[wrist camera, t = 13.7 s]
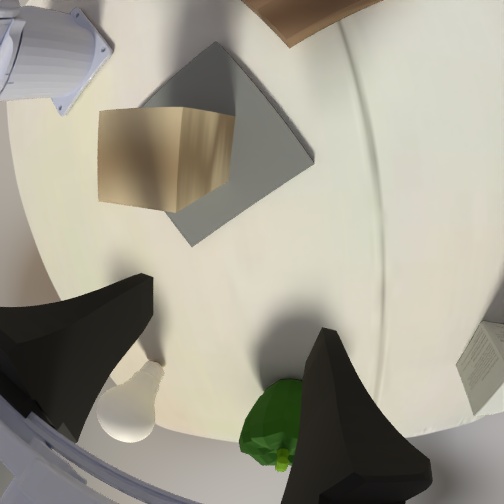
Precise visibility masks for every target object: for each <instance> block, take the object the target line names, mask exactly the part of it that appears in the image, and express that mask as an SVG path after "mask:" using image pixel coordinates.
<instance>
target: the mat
mask: <svg viewBox="0 0 504 504" xmlns="http://www.w3.org/2000/svg"><path fill="white" fill-rule="evenodd" d="M148 107H187V108H193V109H199V110H205V111H211V112H216V113H221V114H226V115H231V116H235V125H234V134H233V143H232V152H231V162H230V172H229V181H228V182H226V183H225V184H223V185H221V186H219V187H218V188H216V189H214V190H213V191H211V192H209V193H208V194H206V195H204V196H203V197H201V198H199V199H198V200H196V201H194V202H193V203H191V204H190V205H188V206H186V207H185V208H183V209H182V210H180V211H178V212H177V213H173V212H167V211H165V213H166V214H167V215H168V217H169V218H170V219H171V221H172V222H173V223H174V225H175V226H176V227H177V229H178V230H179V231H180V233H181V234H182V235H183V237H184V238H185V239H186V240H187V242H188V243H189V244H190V246H191V247H193V246H194V245H196V244H197V243H199V242H200V241H201V240H203V239H204V238H206V237H207V236H208V235H210V234H211V233H213V232H214V231H215V230H217V229H218V228H220V227H221V226H223V225H224V224H225V223H227V222H228V221H230V220H231V219H233V218H234V217H236V216H237V215H238V214H240V213H241V212H243V211H244V210H246V209H247V208H249V207H250V206H252V205H253V204H254V203H256V202H257V201H259V200H260V199H262V198H263V197H265V196H266V195H268V194H269V193H271V192H272V191H274V190H275V189H277V188H278V187H280V186H281V185H283V184H284V183H286V182H287V181H289V180H290V179H292V178H293V177H295V176H296V175H298V174H300V173H301V172H303V171H304V170H306V169H307V168H309V167H310V166H312V165H313V164H314V162H313V160H312V159H311V157H310V156H309V155H308V153H307V152H306V150H305V149H304V147H303V146H302V145H301V143H300V142H299V141H298V139H297V138H296V136H295V135H294V134H293V132H292V131H291V130H290V128H289V127H288V126H287V124H286V123H285V122H284V120H283V119H282V118H281V116H280V115H279V114H278V112H277V111H276V110H275V109H274V107H273V106H272V105H271V104H270V102H269V101H268V100H267V98H266V97H265V96H264V95H263V94H262V92H261V91H260V90H259V89H258V87H257V86H256V85H255V84H254V83H253V81H252V80H251V79H250V78H249V77H248V76H247V74H246V73H245V72H244V71H243V70H242V69H241V67H240V66H239V65H238V64H237V63H236V62H235V61H234V60H233V58H232V57H231V56H230V55H229V54H228V53H227V52H226V51H225V50H224V49H223V48H222V46H221V45H220V44H219V43H218V42H214V43H213V44H212V45H210V46H209V47H208V48H207V49H205V50H204V51H203V52H202V53H200V54H199V55H198V56H197V57H195V58H194V59H193V60H192V61H191V62H189V63H188V64H187V65H186V66H185V67H184V68H183V69H181V70H180V71H179V72H178V73H177V74H176V75H175V76H174V77H172V78H171V79H170V80H169V81H168V82H167V83H166V84H165V85H164V86H163V87H162V88H161V89H160V90H159V91H158V92H157V93H156V94H155V95H154V96H153V97H152V98H151V99H150V100H149V101H148V102H147V103H146V104H145V105H144V106H143V107H142V108H148Z"/></svg>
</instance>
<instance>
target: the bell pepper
mask: <svg viewBox="0 0 504 504" xmlns="http://www.w3.org/2000/svg"><path fill="white" fill-rule="evenodd" d="M302 382H303V381H299V380H295V379H282V380H279V381H278V382H276V383H275V384H273V385H272V386H270V387H269V388H267V389H266V391H265V392H264V394H263V395H261V396H260V397H259V399H258V400H257V402H256V403H255V404H254V406H253V408H252V409H251V411H250V412H249V414H248V416H247V417H246V419H245V422H244V425H243V428H242V431H241V435H240V439H239V444H240V449H241V452H243V453H246V454H249V455H250V456H252V457H253V458H254V459H255V460H256V461H258V462H259V463H260V464H261V465H275V469H276V470H277V471H281V472H284V471H286V469H287V467H288V465H291V466H292V462H293V458H294V454H295V449H296V445H297V440H298V434H299V426H300V411H301V395H302Z"/></svg>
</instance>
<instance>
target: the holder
mask: <svg viewBox="0 0 504 504" xmlns="http://www.w3.org/2000/svg"><path fill="white" fill-rule="evenodd" d="M241 1H243V2H244V3H245V4H246V5H247V6H248V7H249V8H250V9H251V10H252V11H253V12H255V13H256V14H257V15H258V16H259V17H260V18H261V19H262V20H263V21H264V22H265V23H266V24H267V25H268V26H269V27H270V28H271V29H272V30H273V31H274V32H275V33H276V34H277V35H278V36H279V37H280V38H281V39H282V41H283V42H284V43H285V44H286V45H287V46H288V47H289V48H291V47H292V46H294V45H296V44H297V43H299V42H301V41H302V40H304V39H306V38H307V37H309V36H311V35H313V34H315V33H316V32H318V31H320V30H322V29H324V28H325V27H327V26H329V25H331V24H333V23H335V22H337V21H339V20H341V19H343V18H345V17H347V16H349V15H351V14H353V13H355V12H357V11H360V10H362V9H364V8H366V7H368V6H371V5H373V4H375V3H378V2H380V1H383V0H241Z"/></svg>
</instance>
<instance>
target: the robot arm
mask: <svg viewBox="0 0 504 504" xmlns="http://www.w3.org/2000/svg"><path fill="white" fill-rule="evenodd" d="M105 48H106V49H105ZM104 50H105V51H104ZM112 52H113V50H112V48H111V47H110V46H109V45H108V43H107V42H106V41H105V40H104V38H103V37H102V36H101V34H100V33H99V32H98V31H97V29H96V28H95V27H94V26H93V24H92V23H91V22H90V20H89V19H88V18H87V17H86V15H85V14H84V13H83V12H82V10H81V9H80V8H78V7H76V8H74V9H73V11H72V12H71V13H70V14H67V13H63V12H59V11H55V10H50V9H45V8H40V7H35V6H23V7H21V6H20V3H19V0H0V102H1V101H10V100H20V99H34V98H51V99H52V101H53V103H54V105H55V107H56V109H57V110H58V112H59V114H60V115H61V116H65V115H66V114H67V113H68V111H69V110H70V108H71V107H72V105H73V104H74V102H75V101H76V100H77V98H78V97H79V95H80V94H81V93H82V91H83V90H84V89H85V87H86V86H87V85H88V83H89V82H90V81H91V79H92V78H93V77H94V76H95V74H96V73H97V72H98V71H99V69H100V68H101V67H102V66H103V65H104V63H105V62H106V61H107V60H108V59H109V58H110V56H111V55H112ZM152 316H153V277H151V276H148V275H145V274H143V273H140V274H137V275H134V276H131V277H129V278H126V279H124V280H121V281H119V282H116V283H114V284H111V285H109V286H106V287H104V288H101V289H99V290H96V291H93V292H90V293H87V294H84V295H82V296H78V297H75V298H72V299H68V300H64V301H60V302H55V303H49V304H43V305H37V306H28V307H0V461H1V462H2V463H3V464H4V465H5V466H6V467H7V468H8V469H9V470H10V471H11V472H12V473H13V474H14V476H15V477H14V478H13V480H12V482H11V483H10V484H9V486H8V487H7V489H6V490H5V492H4V494H3V495H2V497H1V498H0V504H119V503H117V502H115V501H113V500H111V499H109V498H107V497H105V496H104V495H102V494H100V493H98V492H97V491H95V490H93V489H91V488H90V487H88V486H87V485H86V484H87V480H86V479H84V478H83V477H82V476H80V475H79V474H78V473H77V472H76V471H75V470H73V468H72V467H71V466H70V465H69V463H67V462H66V461H65V460H63V459H62V458H61V457H60V456H58V455H57V454H56V453H55V452H53V451H52V449H54V450H55V451H57V452H58V453H60V454H61V455H62V456H63V457H65V458H66V459H68V460H69V461H71V462H72V463H74V464H75V465H77V466H78V467H80V468H81V469H83V470H84V471H86V472H88V473H89V474H91V475H93V476H94V477H96V478H98V479H99V480H101V481H103V482H105V483H106V484H108V485H110V486H112V487H114V488H116V489H118V490H119V491H121V492H123V493H125V494H127V495H130V496H132V497H134V498H136V499H138V500H140V501H142V502H145V503H147V504H202V503H199V502H196V501H192V500H190V499H186V498H184V497H181V496H178V495H175V494H173V493H170V492H167V491H165V490H162V489H160V488H158V487H155V486H153V485H150V484H148V483H146V482H144V481H141V480H139V479H137V478H135V477H133V476H131V475H129V474H127V473H125V472H123V471H121V470H119V469H117V468H115V467H113V466H111V465H110V464H108V463H106V462H104V461H102V460H101V459H99V458H97V457H96V456H94V455H92V454H91V453H89V452H87V451H86V450H84V449H83V448H81V447H79V446H78V445H76V444H75V443H77V442H78V439H79V436H80V434H81V431H82V429H83V426H84V424H85V421H86V419H87V417H88V415H89V412H90V410H91V408H92V406H93V404H94V402H95V400H96V398H97V396H98V394H99V393H100V391H101V389H102V387H103V385H104V384H105V382H106V380H107V379H108V377H109V375H110V374H111V372H112V371H113V369H114V368H115V366H116V365H117V364H118V363H119V361H120V360H121V359H122V357H123V356H124V355H125V354H126V352H127V351H128V350H129V349H130V348H131V346H132V345H133V344H134V343H135V341H136V340H137V339H138V337H139V336H140V335H141V334H142V332H143V331H144V329H145V328H146V326H147V324H148V323H149V321H150V319H151V317H152ZM51 448H52V449H51ZM431 484H432V471H431V464H430V459H428V458H427V457H426V456H425V455H424V454H422V453H421V452H420V451H419V450H417V449H416V448H415V447H414V446H413V445H411V444H410V443H409V442H408V441H407V440H406V439H405V438H404V437H403V436H402V435H401V434H400V433H399V432H398V431H397V430H396V429H395V428H394V426H393V425H392V424H391V423H390V422H389V421H388V419H387V418H386V417H385V416H384V415H383V413H382V412H381V411H380V409H379V408H378V407H377V405H376V404H375V402H374V401H373V400H372V398H371V397H370V395H369V394H368V392H367V390H366V389H365V387H364V385H363V384H362V382H361V380H360V379H359V377H358V375H357V373H356V371H355V369H354V367H353V365H352V363H351V361H350V359H349V357H348V355H347V353H346V350H345V348H344V346H343V344H342V342H341V339H340V337H339V335H338V333H337V331H335V330H331V329H327V328H323V327H322V329H321V331H320V333H319V335H318V338H317V340H316V342H315V344H314V346H313V348H312V350H311V352H310V355H309V357H308V359H307V361H306V365H305V370H304V376H303V382H302V395H301V411H300V426H299V434H298V440H297V445H296V449H295V454H294V458H293V462H292V467H291V471H290V474H289V478H288V482H287V485H286V488H285V492H284V495H283V498H282V501H281V504H405V501H406V500H408V499H410V498H412V497H414V496H416V495H417V494H419V493H421V492H423V491H424V490H426V489H427V488H428V487H429V486H430V485H431Z"/></svg>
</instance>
